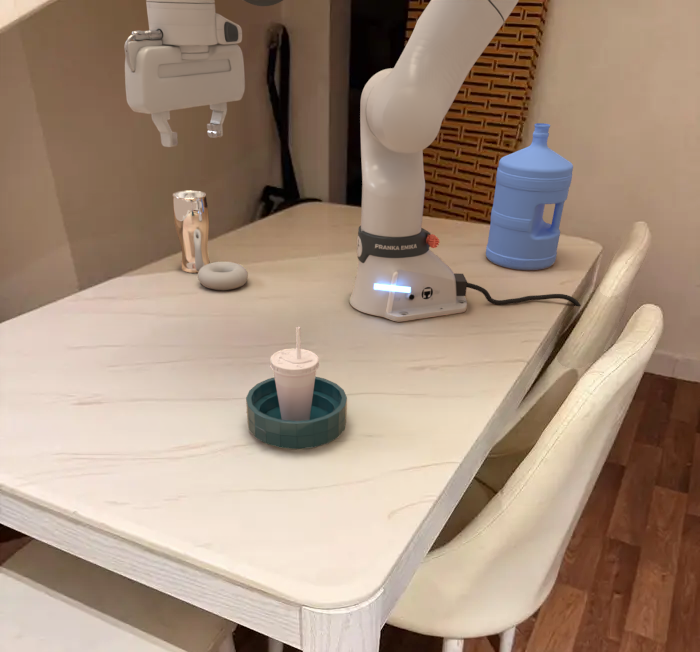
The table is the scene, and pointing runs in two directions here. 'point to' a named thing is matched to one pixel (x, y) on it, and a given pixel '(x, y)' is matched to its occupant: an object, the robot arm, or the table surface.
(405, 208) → the robot arm
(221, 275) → the donut
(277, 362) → the smoothie
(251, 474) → the table surface
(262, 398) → the bowl
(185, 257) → the beer glass
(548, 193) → the water jug
